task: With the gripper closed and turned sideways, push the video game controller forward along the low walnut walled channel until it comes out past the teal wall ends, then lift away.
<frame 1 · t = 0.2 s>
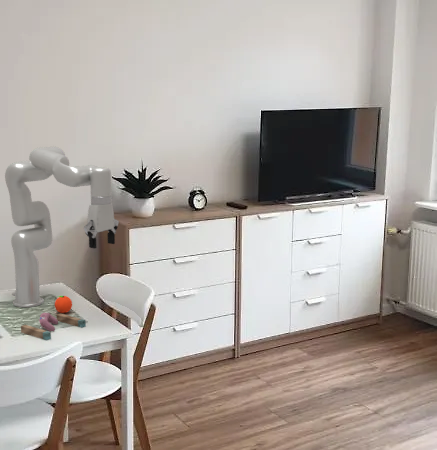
hand: (102, 245, 258), 31 cm above the table, tool pointing down, fingers open, 9 cm apart
clementine: (62, 313, 277), on the table
channel: (53, 329, 257), on the table
video game controller: (48, 328, 259), on the table
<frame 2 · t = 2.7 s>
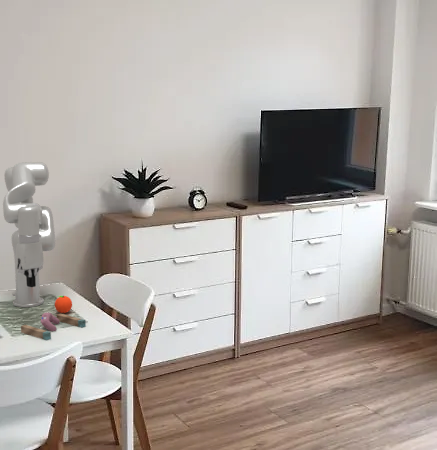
hand: (31, 286, 261), 15 cm above the table, tool pointing down, fingers closed
nothing on the table moved.
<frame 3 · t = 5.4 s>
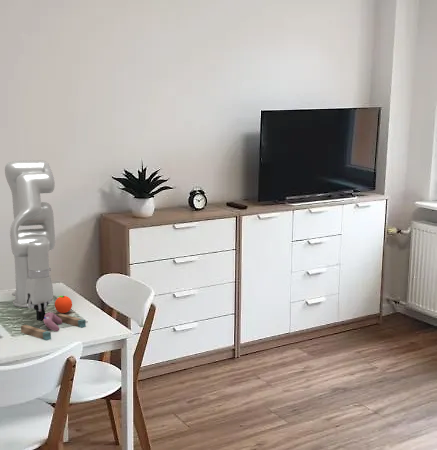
hand: (40, 320, 260), 2 cm above the table, tool pointing down, fingers closed
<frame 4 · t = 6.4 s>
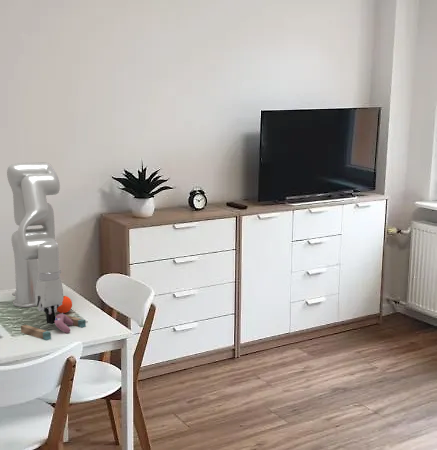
hand: (50, 323, 257), 2 cm above the table, tool pointing down, fingers closed
video game controller: (64, 329, 257), on the table, touching channel, gripper
everything else where it was.
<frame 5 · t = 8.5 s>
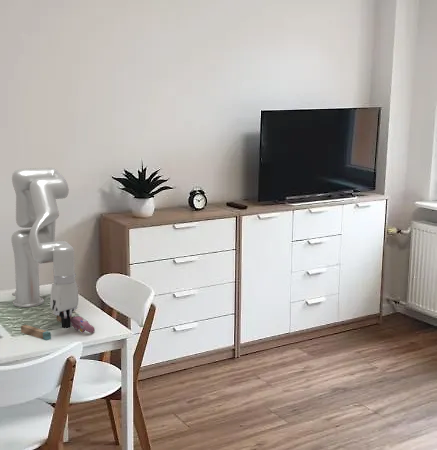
hand: (66, 327, 252), 2 cm above the table, tool pointing down, fingers closed
video game controller: (80, 331, 255), on the table, touching channel, gripper
everything else where it was.
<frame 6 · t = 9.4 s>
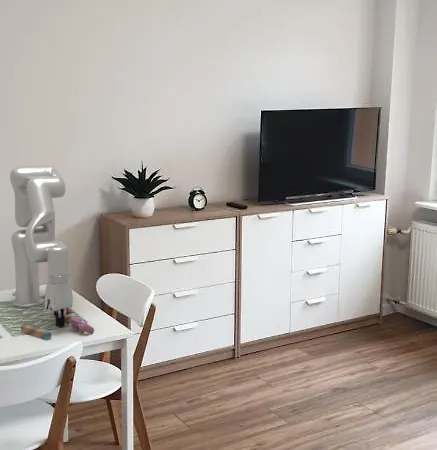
hand: (60, 326, 255), 2 cm above the table, tool pointing down, fingers closed
video game controller: (80, 332, 255), on the table
everything else where it was.
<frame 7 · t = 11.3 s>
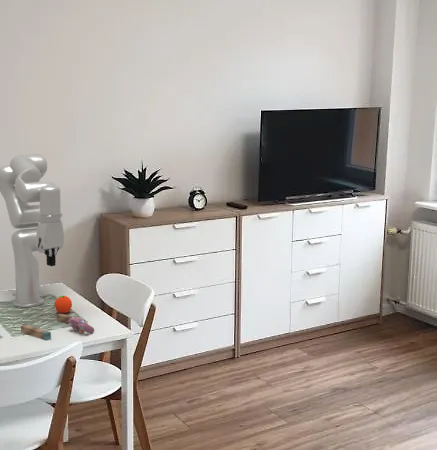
hand: (51, 265, 261), 23 cm above the table, tool pointing down, fingers closed
nothing on the table moved.
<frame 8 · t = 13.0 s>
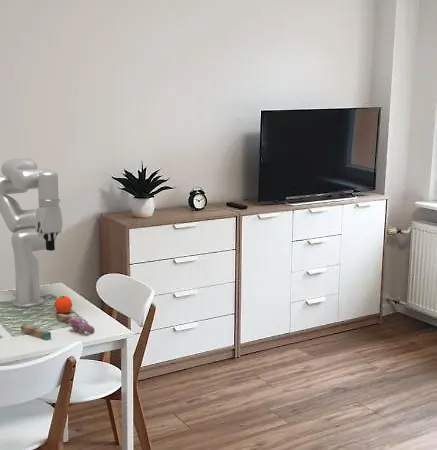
hand: (50, 249, 267), 27 cm above the table, tool pointing down, fingers closed
nothing on the table moved.
at the end: video game controller inside the target area (4.6 cm from its centre), on the table; video game controller moved 13.6 cm from its start; video game controller tilted 0° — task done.
